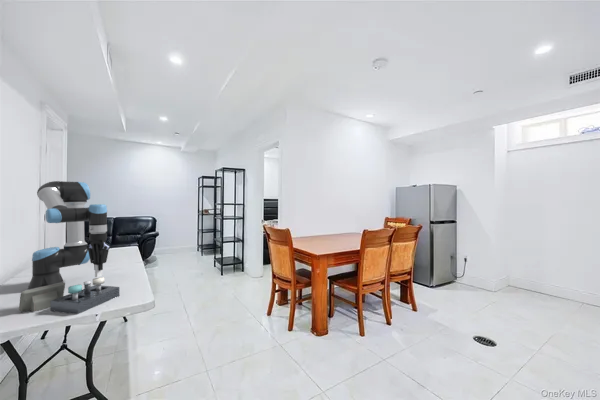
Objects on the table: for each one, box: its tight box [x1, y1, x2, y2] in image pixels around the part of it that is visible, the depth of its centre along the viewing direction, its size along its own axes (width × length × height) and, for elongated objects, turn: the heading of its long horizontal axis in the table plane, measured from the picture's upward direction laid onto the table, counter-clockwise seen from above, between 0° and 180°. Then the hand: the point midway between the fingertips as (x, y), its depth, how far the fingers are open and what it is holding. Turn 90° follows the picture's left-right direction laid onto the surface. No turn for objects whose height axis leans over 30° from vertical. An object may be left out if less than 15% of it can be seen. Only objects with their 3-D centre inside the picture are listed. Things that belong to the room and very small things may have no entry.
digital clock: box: [18, 282, 66, 313], centre depth 125 cm, size 16×9×11 cm, turn 139°
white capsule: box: [83, 280, 92, 294], centre depth 130 cm, size 3×3×6 cm
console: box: [50, 285, 120, 315], centre depth 130 cm, size 16×22×5 cm
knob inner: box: [92, 276, 105, 292], centre depth 136 cm, size 5×5×7 cm
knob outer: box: [67, 284, 83, 301], centre depth 124 cm, size 5×5×7 cm
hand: (98, 276), depth 136 cm, fingers closed
